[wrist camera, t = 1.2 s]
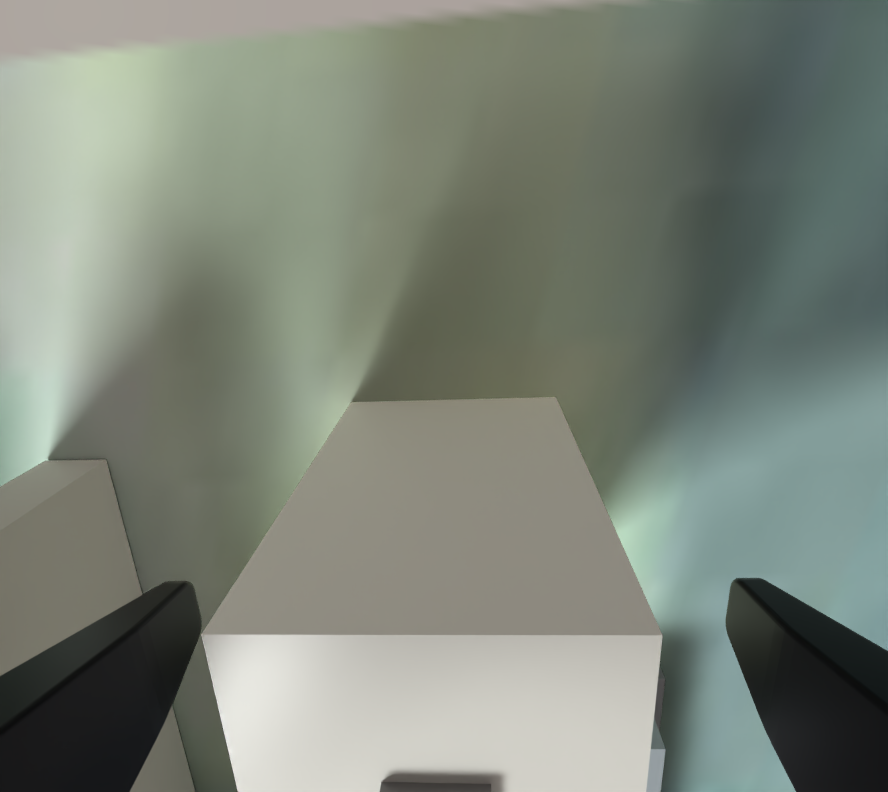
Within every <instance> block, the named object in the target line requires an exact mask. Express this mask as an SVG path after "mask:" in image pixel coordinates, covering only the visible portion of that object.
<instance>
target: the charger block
mask: <svg viewBox="0 0 888 792" xmlns="http://www.w3.org/2000/svg"><path fill="white" fill-rule="evenodd" d="M201 636H202V640H203V645H204V649H205V653H206V658H207V662H208V666H209V670H210V675H211V679H212V683H213V688H214V692H215V696H216V700H217V705H218V709H219V713H220V718H221V722H222V726H223V731H224V735H225V739H226V743H227V748H228V752H229V756H230V761H231V765H232V769H233V773H234V778H235V782H236V786H237V791H238V792H646V789H647V779H648V770H649V760H650V751H651V741H652V732H653V722H654V713H655V703H656V694H657V684H658V674H659V665H660V655H661V646H662V636H663V635H662V633H661V631H660V629H659V626H658V624H657V622H656V620H655V617H654V615H653V613H652V611H651V608H650V606H649V604H648V602H647V599H646V597H645V595H644V593H643V591H642V588H641V586H640V584H639V582H638V579H637V577H636V575H635V573H634V570H633V568H632V566H631V564H630V562H629V559H628V557H627V555H626V553H625V550H624V548H623V546H622V544H621V541H620V539H619V537H618V535H617V532H616V530H615V528H614V526H613V524H612V521H611V519H610V517H609V515H608V512H607V510H606V508H605V506H604V503H603V501H602V499H601V497H600V495H599V492H598V490H597V488H596V486H595V483H594V481H593V479H592V477H591V474H590V472H589V470H588V468H587V465H586V463H585V461H584V459H583V457H582V454H581V452H580V450H579V448H578V445H577V443H576V441H575V439H574V436H573V434H572V432H571V430H570V428H569V425H568V423H567V421H566V419H565V416H564V414H563V412H562V410H561V407H560V405H559V403H558V401H557V399H556V397H534V398H495V399H455V400H416V401H377V402H351V403H350V404H349V406H348V407H347V409H346V411H345V412H344V414H343V415H342V417H341V418H340V420H339V421H338V423H337V425H336V426H335V428H334V429H333V431H332V432H331V434H330V435H329V437H328V438H327V440H326V442H325V443H324V445H323V446H322V448H321V449H320V451H319V452H318V454H317V456H316V457H315V459H314V460H313V462H312V463H311V465H310V466H309V468H308V470H307V471H306V473H305V474H304V476H303V477H302V479H301V480H300V482H299V483H298V485H297V487H296V488H295V490H294V491H293V493H292V494H291V496H290V497H289V499H288V501H287V502H286V504H285V505H284V507H283V508H282V510H281V511H280V513H279V515H278V516H277V518H276V519H275V521H274V522H273V524H272V525H271V527H270V528H269V530H268V532H267V533H266V535H265V536H264V538H263V539H262V541H261V542H260V544H259V546H258V547H257V549H256V550H255V552H254V553H253V555H252V556H251V558H250V560H249V561H248V563H247V564H246V566H245V567H244V569H243V570H242V572H241V573H240V575H239V577H238V578H237V580H236V581H235V583H234V584H233V586H232V587H231V589H230V591H229V592H228V594H227V595H226V597H225V598H224V600H223V601H222V603H221V605H220V606H219V608H218V609H217V611H216V612H215V614H214V615H213V617H212V618H211V620H210V622H209V623H208V625H207V626H206V628H205V629H204V631H203V632H202V634H201Z"/></svg>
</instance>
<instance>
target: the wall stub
mask: <svg viewBox="0 0 888 792" xmlns="http://www.w3.org/2000/svg"><path fill="white" fill-rule="evenodd" d="M141 595H142V591H141V587H140V584H139V580H138V576H137V573H136V569H135V565H134V561H133V558H132V554H131V550H130V547H129V543H128V539H127V535H126V532H125V528H124V524H123V520H122V517H121V513H120V509H119V506H118V502H117V498H116V494H115V491H114V487H113V483H112V480H111V476H110V472H109V468H108V465H107V461H106V459H101V460H50V461H44V462H42V463H40V464H39V465H37V466H35V467H34V468H32V469H30V470H28V471H27V472H25V473H23V474H21V475H20V476H18V477H16V478H15V479H13V480H11V481H9V482H8V483H6V484H4V485H3V486H1V487H0V676H1V675H3V674H4V673H6V672H8V671H10V670H11V669H13V668H15V667H17V666H18V665H20V664H22V663H24V662H25V661H27V660H29V659H31V658H32V657H34V656H36V655H38V654H39V653H41V652H43V651H45V650H46V649H48V648H50V647H52V646H53V645H55V644H57V643H59V642H61V641H62V640H64V639H66V638H68V637H69V636H71V635H73V634H75V633H76V632H78V631H80V630H82V629H83V628H85V627H87V626H89V625H90V624H92V623H94V622H96V621H97V620H99V619H101V618H103V617H104V616H106V615H108V614H110V613H111V612H113V611H115V610H117V609H118V608H120V607H122V606H124V605H125V604H127V603H129V602H131V601H132V600H134V599H136V598H138V597H139V596H141ZM130 792H195V789H194V785H193V781H192V777H191V774H190V770H189V766H188V762H187V759H186V755H185V751H184V748H183V744H182V740H181V736H180V733H179V729H178V725H177V721H176V718H175V714H174V710H173V707H171V709H170V711H169V714H168V716H167V718H166V721H165V723H164V725H163V727H162V729H161V731H160V733H159V735H158V737H157V739H156V741H155V743H154V745H153V747H152V749H151V751H150V753H149V755H148V757H147V759H146V761H145V763H144V765H143V767H142V769H141V771H140V773H139V775H138V777H137V779H136V781H135V783H134V785H133V787H132V788H131V790H130Z"/></svg>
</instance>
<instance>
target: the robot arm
mask: <svg viewBox="0 0 888 792" xmlns="http://www.w3.org/2000/svg"><path fill="white" fill-rule="evenodd" d="M201 627H202V620H201V615H200V611H199V606H198V602H197V598H196V594H195V589H194V586H193V585H192V584H191V583H190V582H188V581H167V582H164V583H162V584H160V585H159V586H157V587H155V588H153V589H152V590H150V591H148V592H146V593H145V594H143V595H141V596H139V597H138V598H136V599H134V600H132V601H131V602H129V603H127V604H125V605H124V606H122V607H120V608H118V609H117V610H115V611H113V612H111V613H110V614H108V615H106V616H104V617H103V618H101V619H99V620H97V621H96V622H94V623H92V624H90V625H89V626H87V627H85V628H83V629H82V630H80V631H78V632H76V633H75V634H73V635H71V636H69V637H68V638H66V639H64V640H62V641H61V642H59V643H57V644H55V645H53V646H52V647H50V648H48V649H46V650H45V651H43V652H41V653H39V654H38V655H36V656H34V657H32V658H31V659H29V660H27V661H25V662H24V663H22V664H20V665H18V666H17V667H15V668H13V669H11V670H10V671H8V672H6V673H4V674H3V675H1V676H0V792H130V790H131V788H132V787H133V785H134V783H135V781H136V779H137V777H138V775H139V773H140V771H141V769H142V767H143V765H144V763H145V761H146V759H147V757H148V755H149V753H150V751H151V749H152V747H153V745H154V743H155V741H156V739H157V737H158V735H159V733H160V731H161V729H162V727H163V725H164V723H165V721H166V718H167V716H168V714H169V711H170V709H171V707H172V704H173V702H174V699H175V696H176V694H177V691H178V689H179V686H180V684H181V681H182V679H183V676H184V674H185V671H186V669H187V666H188V664H189V661H190V659H191V656H192V654H193V651H194V649H195V646H196V644H197V641H198V638H199V636H200V632H201ZM726 630H727V634H728V637H729V639H730V642H731V644H732V647H733V650H734V652H735V655H736V657H737V660H738V662H739V665H740V668H741V670H742V673H743V675H744V678H745V680H746V683H747V686H748V688H749V691H750V693H751V696H752V698H753V701H754V704H755V706H756V709H757V711H758V714H759V716H760V719H761V721H762V723H763V726H764V728H765V730H766V733H767V735H768V737H769V739H770V741H771V743H772V745H773V747H774V749H775V751H776V753H777V755H778V757H779V759H780V761H781V763H782V765H783V767H784V769H785V771H786V773H787V775H788V777H789V779H790V781H791V783H792V784H793V786H794V788H795V790H796V792H888V651H887V650H885V649H883V648H882V647H880V646H878V645H876V644H875V643H873V642H871V641H870V640H868V639H866V638H864V637H863V636H861V635H859V634H857V633H856V632H854V631H852V630H850V629H849V628H847V627H845V626H844V625H842V624H840V623H838V622H837V621H835V620H833V619H831V618H830V617H828V616H826V615H824V614H823V613H821V612H819V611H817V610H816V609H814V608H812V607H811V606H809V605H807V604H805V603H804V602H802V601H800V600H798V599H797V598H795V597H793V596H791V595H790V594H788V593H786V592H785V591H783V590H781V589H779V588H778V587H776V586H774V585H772V584H771V583H769V582H767V581H765V580H763V579H761V578H736V579H735V580H733V582H732V583H731V587H730V593H729V600H728V607H727V614H726Z"/></svg>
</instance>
